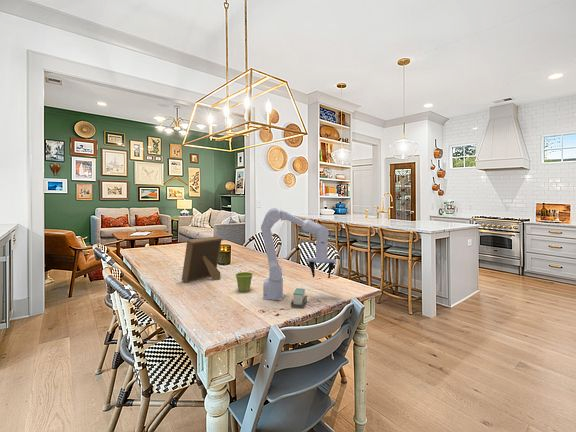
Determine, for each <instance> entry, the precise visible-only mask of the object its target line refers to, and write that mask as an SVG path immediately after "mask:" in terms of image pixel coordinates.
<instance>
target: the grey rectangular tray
mask: <svg viewBox="0 0 576 432" xmlns="http://www.w3.org/2000/svg"><path fill="white" fill-rule="evenodd" d="M307 301H308V295H305V299H304V301H303V303H302V305H298V304H293V299H292V300H291V302H290V308H292V309H304V308H305V306H306V303H307Z"/></svg>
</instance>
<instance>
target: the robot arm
mask: <svg viewBox="0 0 576 432" xmlns="http://www.w3.org/2000/svg"><path fill="white" fill-rule="evenodd" d="M280 220H281V221H288V222H291V223H293V224H296V225H298V226H300V227H301V229H302V230H303V231H305V232H307V233H309V234H310V235H311V234H312V235H315V236H316V238H315V239H316V240H315V257H306V263H307V264H308V266H309V269H310V270H311V271H310V272H311V274H312V278H315V275H316V274H315V273H316V272H315V263H316V264H328V275H327V278H328V279H331V272H332V270H333V268H334V266H335V265H337V259H333V258H328V251H329V249H328V248H329V247H328V246H329V245H328V243H329V242H328V239H329V238H328V237H329V236H330V232H329V229H328V228H327V227H325V226H324V225H322V224H321V223H316V222H315V221H313V219H311V218H309V219H308V218H306V219H302V218H300V217H297V216H296V215H293V214H292V213H289V212H287V211H284V210H281V209H280V210H279V209H278V208H276V207H273V208H270V209H269V210H268V211H267V212H266V213H265V216H264V218H263V220H262V224H261V225H260V230H261V234H262V240H263V244H264V248H265V253H266V257H267V262H268V267H269V270H268V272H269V274H268V275H269V276H268V278H266V279H264V281H263V283H262V284H263V285H262V286H263V288H262V299H264V300H273V301H282V300H283V299H284V297H285V296H286V295H285V294H284V290H283V289H284V279H283V272H282V271H283V270H282V266H281V265H280V264H279V260H278V257H277V252H276V247H275V244H274V239H273V238H274V237H273V235H272V228H273V226H274V225H275V224H276V223H278V222H279V221H280Z"/></svg>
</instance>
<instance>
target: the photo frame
mask: <svg viewBox="0 0 576 432" xmlns="http://www.w3.org/2000/svg"><path fill="white" fill-rule="evenodd" d="M221 244H222V238H221V237H220V236H218V235H216V236H215V235H214V236H208V237H200V238H192V239H187V240H186V246H185V252H184V253H185V255H184V260H183V266H182V267H183V268H182V275H181V281H182V282H184V283H191V282H194V281H199V280H202V279H206V278H210V277H211V279H212V281H218V280H221V272H220V270H219V269H218V263H219V256H220V252H221V247H222V246H221Z"/></svg>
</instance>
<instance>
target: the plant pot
mask: <svg viewBox="0 0 576 432" xmlns="http://www.w3.org/2000/svg"><path fill="white" fill-rule="evenodd" d="M234 276H235V278H236V282H237V283H236V284H237V290H238V292H240V293H242V292H244V293H246V292H250V290H251V283H252V279H253V276H254V273H253V272H249V271H241V272H237V273H235V275H234Z"/></svg>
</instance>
